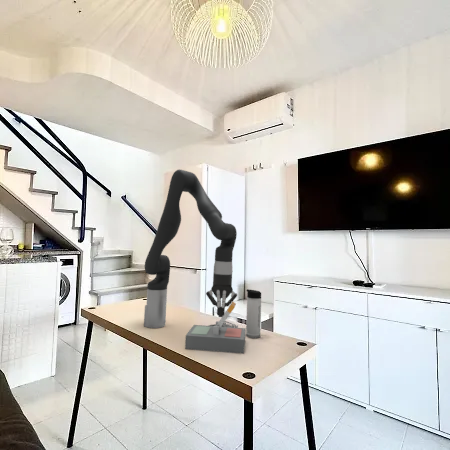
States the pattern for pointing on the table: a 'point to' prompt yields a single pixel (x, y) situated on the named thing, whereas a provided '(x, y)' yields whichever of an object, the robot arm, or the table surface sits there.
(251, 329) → the travel mug
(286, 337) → the table surface
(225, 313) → the breaker lever
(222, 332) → the breaker base
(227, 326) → the graphics card
